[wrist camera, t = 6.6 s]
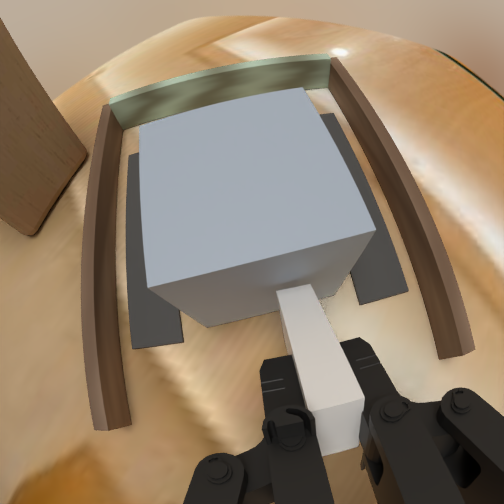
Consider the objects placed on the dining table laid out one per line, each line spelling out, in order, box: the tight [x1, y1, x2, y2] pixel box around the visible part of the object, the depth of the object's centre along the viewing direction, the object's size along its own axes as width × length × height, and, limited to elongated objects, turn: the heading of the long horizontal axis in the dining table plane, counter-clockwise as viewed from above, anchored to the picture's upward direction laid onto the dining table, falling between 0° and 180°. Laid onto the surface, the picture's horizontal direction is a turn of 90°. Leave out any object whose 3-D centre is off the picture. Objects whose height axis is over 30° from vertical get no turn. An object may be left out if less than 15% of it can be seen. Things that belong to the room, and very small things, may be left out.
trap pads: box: [126, 113, 409, 349], centre depth 21 cm, size 18×16×1 cm
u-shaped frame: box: [81, 54, 475, 431], centre depth 19 cm, size 22×26×4 cm
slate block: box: [139, 87, 376, 328], centre depth 16 cm, size 8×8×9 cm
